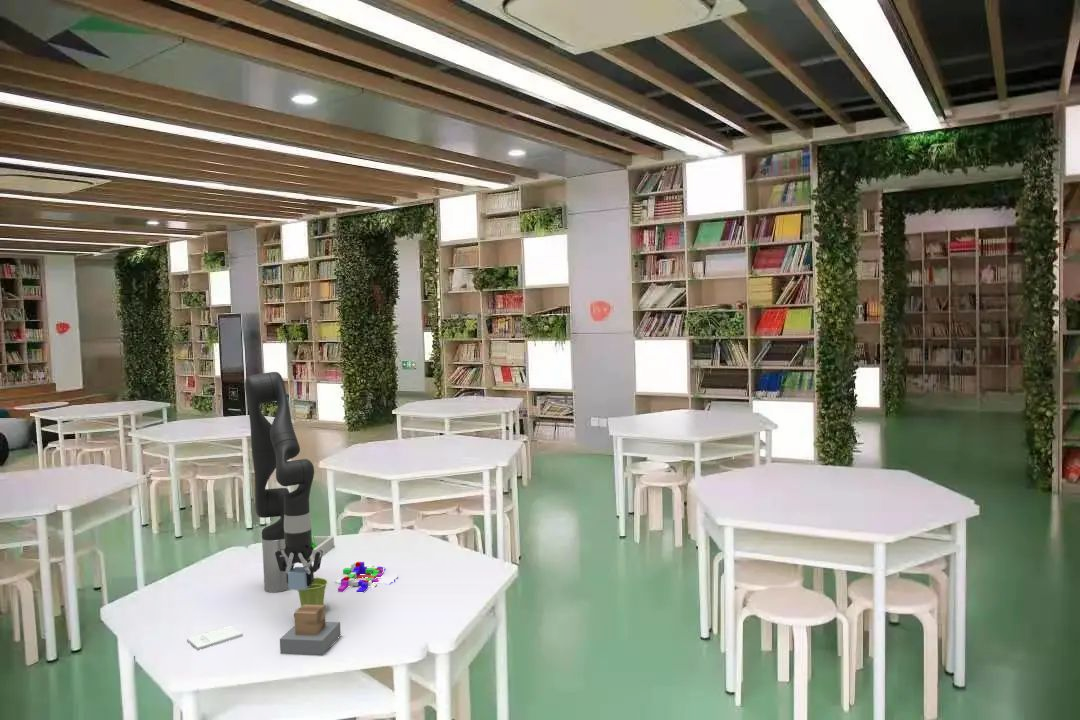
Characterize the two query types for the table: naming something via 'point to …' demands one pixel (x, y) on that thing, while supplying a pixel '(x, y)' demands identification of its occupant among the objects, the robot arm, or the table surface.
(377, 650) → the table surface
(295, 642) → the base plinth
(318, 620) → the walnut cube
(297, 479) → the robot arm
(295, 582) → the blue cube
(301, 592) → the plant pot
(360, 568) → the building block set
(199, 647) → the external hard drive
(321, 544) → the corral
